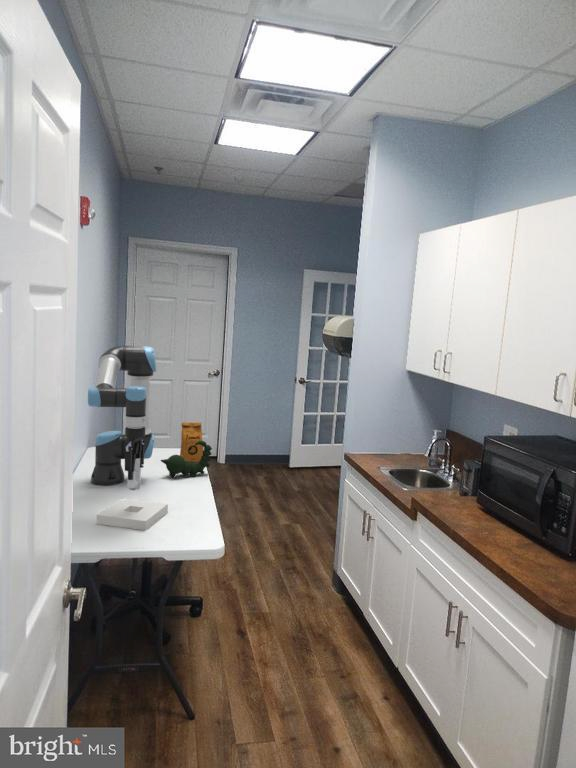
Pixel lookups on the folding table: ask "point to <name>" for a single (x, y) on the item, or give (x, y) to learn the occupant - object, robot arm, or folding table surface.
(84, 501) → the folding table surface
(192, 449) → the coffee package
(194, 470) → the toy figurine
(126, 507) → the socket block
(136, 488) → the steel pin
